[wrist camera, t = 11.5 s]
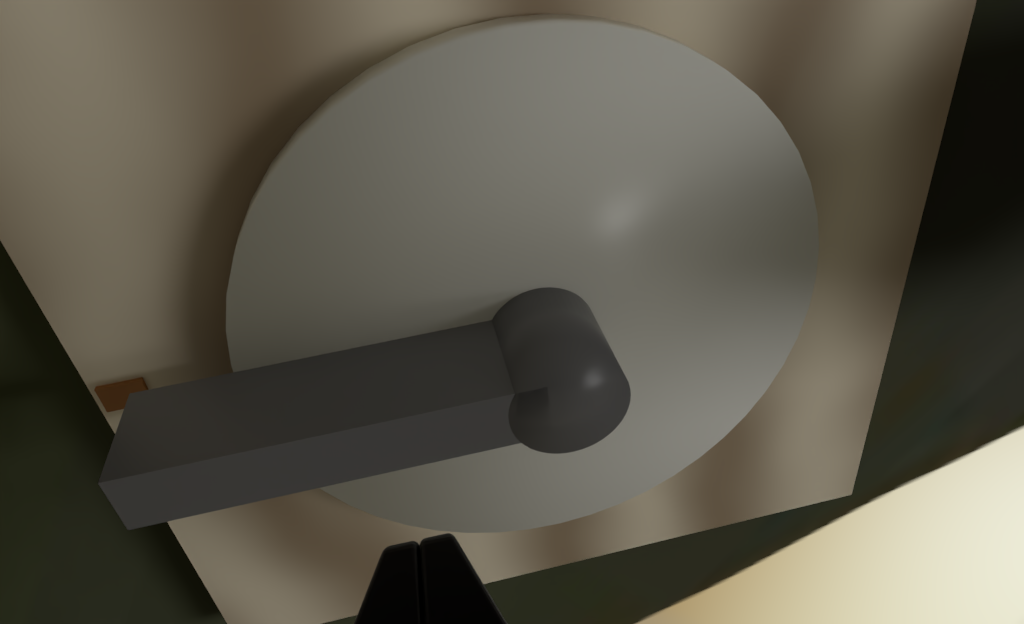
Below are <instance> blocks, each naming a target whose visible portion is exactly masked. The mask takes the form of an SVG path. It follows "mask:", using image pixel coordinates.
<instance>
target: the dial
mask: <svg viewBox="0 0 1024 624" xmlns="http://www.w3.org/2000/svg"><path fill="white" fill-rule="evenodd" d="M818 253H819V234H818V214H817V209H816V205H815V200H814V195H813V190H812V186H811V182H810V179H809V177H808V174H807V171H806V169H805V166H804V164H803V161H802V159H801V156H800V153H799V151H798V149H797V148H796V146H795V144H794V143H793V141H792V140H791V138H790V136H789V135H788V133H787V131H786V130H785V128H784V126H783V125H782V123H781V121H780V120H779V119H778V118H777V117H776V116H775V115H774V113H773V112H772V111H771V110H770V109H769V108H768V107H767V105H766V104H765V103H764V102H763V101H762V100H761V99H760V97H759V96H758V95H757V94H756V93H755V92H753V91H752V90H751V89H750V88H748V87H747V86H746V85H745V84H743V83H742V82H741V81H740V80H739V79H737V78H736V77H735V76H734V75H732V74H731V73H730V72H729V71H727V70H726V69H724V68H723V67H721V66H720V65H718V64H717V63H715V62H714V61H712V60H711V59H709V58H707V57H705V56H704V55H702V54H700V53H698V52H697V51H695V50H693V49H691V48H690V47H688V46H686V45H684V44H683V43H681V42H679V41H677V40H675V39H673V38H670V37H668V36H665V35H662V34H660V33H657V32H654V31H652V30H649V29H646V28H644V27H641V26H638V25H635V24H630V23H625V22H620V21H615V20H611V19H606V18H601V17H596V16H584V15H566V14H537V15H526V16H514V17H503V18H498V19H494V20H489V21H485V22H481V23H476V24H472V25H467V26H463V27H459V28H455V29H452V30H449V31H447V32H444V33H442V34H439V35H436V36H434V37H431V38H428V39H426V40H423V41H420V42H418V43H415V44H413V45H410V46H408V47H406V48H404V49H403V50H401V51H399V52H397V53H395V54H393V55H392V56H390V57H388V58H386V59H384V60H382V61H381V62H379V63H377V64H375V65H373V66H371V67H370V68H368V69H366V70H365V71H364V72H362V73H361V74H360V75H358V76H357V77H356V78H354V79H353V80H352V81H350V82H349V83H348V84H346V85H345V86H343V87H342V88H341V89H339V90H338V91H337V92H335V93H334V94H333V95H331V96H330V97H329V98H328V99H327V100H326V101H325V102H324V103H323V104H322V105H321V106H320V107H319V108H318V109H317V110H316V111H315V112H314V113H313V114H312V115H311V116H310V117H309V118H308V119H307V120H306V121H305V122H304V123H302V124H301V125H300V126H299V127H298V128H297V130H296V131H295V132H294V134H293V135H292V136H291V138H290V139H289V140H288V142H287V143H286V144H285V146H284V147H283V148H282V150H281V151H280V152H279V153H278V155H277V156H276V157H275V159H274V160H273V161H272V163H271V164H270V166H269V168H268V170H267V172H266V174H265V175H264V177H263V179H262V181H261V183H260V184H259V186H258V188H257V190H256V192H255V194H254V195H253V197H252V199H251V202H250V205H249V207H248V210H247V213H246V216H245V218H244V221H243V224H242V227H241V230H240V232H239V235H238V239H237V243H236V248H235V252H234V257H233V262H232V267H231V272H230V278H229V283H228V289H227V294H226V336H227V342H228V349H229V355H230V362H231V366H232V369H233V373H228V374H223V375H218V376H213V377H208V378H204V379H199V380H194V381H189V382H184V383H179V384H174V385H169V386H164V387H159V388H154V389H149V390H144V391H140V392H135V393H130V394H129V396H128V399H127V402H126V405H125V408H124V411H123V413H122V416H121V419H120V422H119V425H118V428H117V430H116V433H115V436H114V439H113V442H112V445H111V447H110V450H109V453H108V456H107V459H106V462H105V465H104V467H103V470H102V473H101V476H100V479H99V482H98V484H99V486H100V487H101V489H102V490H103V492H104V493H105V495H106V497H107V498H108V500H109V501H110V503H111V504H112V506H113V507H114V509H115V511H116V512H117V514H118V515H119V517H120V518H121V520H122V521H123V523H124V525H125V526H126V528H127V529H128V530H132V529H136V528H141V527H145V526H150V525H154V524H159V523H163V522H168V521H172V520H177V519H181V518H186V517H190V516H195V515H199V514H204V513H208V512H213V511H217V510H222V509H226V508H231V507H235V506H240V505H244V504H249V503H253V502H258V501H262V500H267V499H271V498H276V497H280V496H285V495H289V494H294V493H298V492H303V491H307V490H312V489H316V488H320V489H321V490H323V491H325V492H326V493H328V494H330V495H332V496H334V497H335V498H337V499H339V500H341V501H343V502H344V503H346V504H348V505H350V506H352V507H355V508H357V509H360V510H362V511H365V512H367V513H369V514H372V515H374V516H377V517H380V518H383V519H387V520H390V521H394V522H397V523H401V524H404V525H409V526H414V527H420V528H425V529H431V530H437V531H449V532H462V533H497V532H508V531H518V530H527V529H533V528H539V527H544V526H549V525H554V524H559V523H563V522H567V521H570V520H574V519H577V518H581V517H585V516H588V515H591V514H594V513H597V512H599V511H602V510H605V509H607V508H610V507H613V506H615V505H618V504H620V503H623V502H625V501H627V500H629V499H631V498H633V497H635V496H637V495H640V494H642V493H644V492H646V491H648V490H650V489H651V488H653V487H655V486H657V485H658V484H660V483H662V482H664V481H665V480H667V479H669V478H671V477H672V476H674V475H675V474H677V473H678V472H680V471H681V470H683V469H684V468H686V467H687V466H688V465H690V464H691V463H693V462H694V461H696V460H697V459H699V458H700V457H701V456H702V455H704V454H705V453H706V452H707V451H708V450H710V449H711V448H712V447H713V446H714V445H716V444H717V443H718V442H719V441H720V440H722V439H723V438H724V437H725V436H726V435H727V434H728V433H729V432H730V431H731V430H732V429H733V428H734V427H735V426H736V425H737V424H738V423H739V422H740V421H741V420H742V419H743V418H744V417H745V416H746V415H747V414H748V412H749V411H750V410H751V409H752V408H753V406H754V405H755V404H756V403H757V402H758V400H759V399H760V398H761V397H762V395H763V394H764V393H765V392H766V390H767V389H768V387H769V386H770V384H771V383H772V381H773V380H774V378H775V377H776V375H777V374H778V372H779V371H780V369H781V368H782V366H783V365H784V363H785V361H786V359H787V357H788V355H789V353H790V351H791V349H792V347H793V346H794V344H795V342H796V340H797V338H798V335H799V333H800V330H801V327H802V325H803V322H804V319H805V317H806V314H807V311H808V309H809V305H810V301H811V297H812V292H813V288H814V284H815V280H816V273H817V263H818Z"/></svg>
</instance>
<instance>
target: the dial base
mask: <svg viewBox="0 0 1024 624" xmlns="http://www.w3.org/2000/svg"><path fill="white" fill-rule="evenodd" d="M976 1H977V0H0V241H1V242H2V244H3V246H4V247H5V249H6V251H7V253H8V254H9V256H10V258H11V259H12V261H13V263H14V264H15V266H16V268H17V269H18V271H19V273H20V275H21V276H22V278H23V280H24V281H25V283H26V285H27V286H28V288H29V290H30V291H31V293H32V295H33V296H34V298H35V300H36V302H37V303H38V305H39V307H40V308H41V310H42V312H43V313H44V315H45V317H46V318H47V320H48V322H49V323H50V325H51V327H52V329H53V330H54V332H55V334H56V335H57V337H58V339H59V340H60V342H61V344H62V345H63V347H64V349H65V350H66V352H67V354H68V356H69V357H70V359H71V361H72V362H73V364H74V366H75V367H76V369H77V371H78V372H79V374H80V376H81V377H82V379H83V381H84V383H85V384H86V386H87V388H88V389H89V391H90V393H91V394H92V396H93V398H94V399H95V401H96V403H97V404H98V406H99V408H100V410H101V411H102V413H103V415H104V416H105V418H106V420H107V421H108V423H109V425H110V426H111V428H112V430H113V431H114V433H116V430H117V428H118V425H119V422H120V419H121V416H122V413H123V411H124V408H125V405H126V402H127V399H128V396H129V394H130V393H135V392H140V391H144V390H149V389H154V388H159V387H164V386H169V385H174V384H179V383H184V382H189V381H194V380H199V379H204V378H208V377H213V376H218V375H223V374H228V373H233V369H232V366H231V362H230V355H229V349H228V342H227V336H226V294H227V289H228V283H229V278H230V272H231V267H232V262H233V257H234V252H235V248H236V243H237V239H238V235H239V232H240V230H241V227H242V224H243V221H244V218H245V216H246V213H247V210H248V207H249V205H250V202H251V199H252V197H253V195H254V194H255V192H256V190H257V188H258V186H259V184H260V183H261V181H262V179H263V177H264V175H265V174H266V172H267V170H268V168H269V166H270V164H271V163H272V161H273V160H274V159H275V157H276V156H277V155H278V153H279V152H280V151H281V150H282V148H283V147H284V146H285V144H286V143H287V142H288V140H289V139H290V138H291V136H292V135H293V134H294V132H295V131H296V130H297V128H298V127H299V126H300V125H301V124H302V123H304V122H305V121H306V120H307V119H308V118H309V117H310V116H311V115H312V114H313V113H314V112H315V111H316V110H317V109H318V108H319V107H320V106H321V105H322V104H323V103H324V102H325V101H326V100H327V99H328V98H329V97H330V96H331V95H333V94H334V93H335V92H337V91H338V90H339V89H341V88H342V87H343V86H345V85H346V84H348V83H349V82H350V81H352V80H353V79H354V78H356V77H357V76H358V75H360V74H361V73H362V72H364V71H365V70H366V69H368V68H370V67H371V66H373V65H375V64H377V63H379V62H381V61H382V60H384V59H386V58H388V57H390V56H392V55H393V54H395V53H397V52H399V51H401V50H403V49H404V48H406V47H408V46H410V45H413V44H415V43H418V42H420V41H423V40H426V39H428V38H431V37H434V36H436V35H439V34H442V33H444V32H447V31H449V30H452V29H455V28H459V27H463V26H467V25H472V24H476V23H481V22H485V21H489V20H494V19H498V18H503V17H514V16H526V15H537V14H566V15H584V16H596V17H601V18H606V19H611V20H615V21H620V22H625V23H630V24H635V25H638V26H641V27H644V28H646V29H649V30H652V31H654V32H657V33H660V34H662V35H665V36H668V37H670V38H673V39H675V40H677V41H679V42H681V43H683V44H684V45H686V46H688V47H690V48H691V49H693V50H695V51H697V52H698V53H700V54H702V55H704V56H705V57H707V58H709V59H711V60H712V61H714V62H715V63H717V64H718V65H720V66H721V67H723V68H724V69H726V70H727V71H729V72H730V73H731V74H732V75H734V76H735V77H736V78H737V79H739V80H740V81H741V82H742V83H743V84H745V85H746V86H747V87H748V88H750V89H751V90H752V91H753V92H755V93H756V94H757V95H758V96H759V97H760V99H761V100H762V101H763V102H764V103H765V104H766V105H767V107H768V108H769V109H770V110H771V111H772V112H773V113H774V115H775V116H776V117H777V118H778V119H779V120H780V121H781V123H782V125H783V126H784V128H785V130H786V131H787V133H788V135H789V136H790V138H791V140H792V141H793V143H794V144H795V146H796V148H797V149H798V151H799V153H800V156H801V159H802V161H803V164H804V166H805V169H806V171H807V174H808V177H809V179H810V182H811V186H812V190H813V195H814V200H815V205H816V209H817V214H818V234H819V253H818V263H817V273H816V280H815V284H814V288H813V292H812V297H811V301H810V305H809V309H808V311H807V314H806V317H805V319H804V322H803V325H802V327H801V330H800V333H799V335H798V338H797V340H796V342H795V344H794V346H793V347H792V349H791V351H790V353H789V355H788V357H787V359H786V361H785V363H784V365H783V366H782V368H781V369H780V371H779V372H778V374H777V375H776V377H775V378H774V380H773V381H772V383H771V384H770V386H769V387H768V389H767V390H766V392H765V393H764V394H763V395H762V397H761V398H760V399H759V400H758V402H757V403H756V404H755V405H754V406H753V408H752V409H751V410H750V411H749V412H748V414H747V415H746V416H745V417H744V418H743V419H742V420H741V421H740V422H739V423H738V424H737V425H736V426H735V427H734V428H733V429H732V430H731V431H730V432H729V433H728V434H727V435H726V436H725V437H724V438H723V439H722V440H720V441H719V442H718V443H717V444H716V445H714V446H713V447H712V448H711V449H710V450H708V451H707V452H706V453H705V454H704V455H702V456H701V457H700V458H699V459H697V460H696V461H694V462H693V463H691V464H690V465H688V466H687V467H686V468H684V469H683V470H681V471H680V472H678V473H677V474H675V475H674V476H672V477H671V478H669V479H667V480H665V481H664V482H662V483H660V484H658V485H657V486H655V487H653V488H651V489H650V490H648V491H646V492H644V493H642V494H640V495H637V496H635V497H633V498H631V499H629V500H627V501H625V502H623V503H620V504H618V505H615V506H613V507H610V508H607V509H605V510H602V511H599V512H597V513H594V514H591V515H588V516H585V517H581V518H577V519H574V520H570V521H567V522H563V523H559V524H554V525H549V526H544V527H539V528H533V529H527V530H518V531H508V532H497V533H462V532H449V531H437V530H431V529H425V528H420V527H414V526H409V525H404V524H401V523H397V522H394V521H390V520H387V519H383V518H380V517H377V516H374V515H372V514H369V513H367V512H365V511H362V510H360V509H357V508H355V507H352V506H350V505H348V504H346V503H344V502H343V501H341V500H339V499H337V498H335V497H334V496H332V495H330V494H328V493H326V492H325V491H323V490H321V489H320V488H316V489H312V490H307V491H303V492H298V493H294V494H289V495H285V496H280V497H276V498H271V499H267V500H262V501H258V502H253V503H249V504H244V505H240V506H235V507H231V508H226V509H222V510H217V511H213V512H208V513H204V514H199V515H195V516H190V517H186V518H181V519H177V520H172V521H168V522H167V523H168V524H169V526H170V528H171V529H172V531H173V533H174V534H175V536H176V538H177V540H178V541H179V543H180V545H181V546H182V548H183V550H184V551H185V553H186V555H187V556H188V558H189V560H190V561H191V563H192V565H193V567H194V568H195V570H196V572H197V573H198V575H199V577H200V578H201V580H202V582H203V583H204V585H205V587H206V588H207V590H208V592H209V594H210V595H211V597H212V599H213V600H214V602H215V604H216V605H217V607H218V609H219V610H220V612H221V614H222V615H223V617H224V619H225V621H226V622H227V624H321V623H325V622H330V621H334V620H338V619H342V618H346V617H350V616H354V615H358V612H359V610H360V607H361V604H362V602H363V599H364V597H365V594H366V592H367V589H368V587H369V584H370V581H371V579H372V576H373V574H374V571H375V569H376V566H377V563H378V561H379V558H380V556H381V554H382V552H383V550H384V549H385V548H386V547H388V546H391V545H395V544H400V543H405V542H409V541H416V542H418V544H419V545H420V542H421V541H422V540H423V539H424V538H428V537H432V536H437V535H441V534H446V533H450V534H452V535H454V536H455V538H456V539H457V541H458V542H459V544H460V546H461V548H462V549H463V551H464V553H465V554H466V556H467V558H468V559H469V561H470V563H471V564H472V566H473V568H474V569H475V571H476V573H477V574H478V576H479V578H480V579H481V581H482V583H483V584H486V583H490V582H494V581H498V580H502V579H506V578H510V577H515V576H519V575H523V574H527V573H531V572H535V571H539V570H543V569H547V568H552V567H556V566H560V565H564V564H568V563H572V562H576V561H580V560H584V559H589V558H593V557H597V556H601V555H605V554H609V553H613V552H617V551H621V550H626V549H630V548H634V547H638V546H642V545H646V544H650V543H654V542H658V541H663V540H667V539H671V538H675V537H679V536H683V535H687V534H691V533H695V532H700V531H704V530H708V529H712V528H716V527H720V526H724V525H728V524H732V523H737V522H741V521H745V520H749V519H753V518H757V517H761V516H765V515H769V514H774V513H778V512H782V511H786V510H790V509H794V508H798V507H802V506H806V505H811V504H815V503H819V502H823V501H827V500H831V499H835V498H839V497H843V496H848V495H852V491H853V487H854V483H855V479H856V475H857V471H858V467H859V463H860V459H861V455H862V451H863V447H864V443H865V439H866V435H867V431H868V427H869V423H870V420H871V416H872V412H873V408H874V404H875V400H876V396H877V392H878V388H879V384H880V380H881V376H882V372H883V368H884V364H885V360H886V356H887V352H888V348H889V345H890V341H891V337H892V333H893V329H894V325H895V321H896V317H897V313H898V309H899V305H900V301H901V297H902V293H903V289H904V285H905V281H906V277H907V273H908V270H909V266H910V262H911V258H912V254H913V250H914V246H915V242H916V238H917V234H918V230H919V226H920V222H921V218H922V214H923V210H924V206H925V202H926V198H927V195H928V191H929V187H930V183H931V179H932V175H933V171H934V167H935V163H936V159H937V155H938V151H939V147H940V143H941V139H942V135H943V131H944V127H945V123H946V120H947V116H948V112H949V108H950V104H951V100H952V96H953V92H954V88H955V84H956V80H957V76H958V72H959V68H960V64H961V60H962V56H963V52H964V48H965V45H966V41H967V37H968V33H969V29H970V25H971V21H972V17H973V13H974V9H975V5H976Z"/></svg>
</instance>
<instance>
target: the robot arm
mask: <svg viewBox="0 0 1024 624" xmlns="http://www.w3.org/2000/svg"><path fill="white" fill-rule="evenodd" d="M354 624H507V623H506V621H505V619H504V618H503V616H502V614H501V613H500V611H499V609H498V608H497V606H496V604H495V603H494V601H493V599H492V598H491V596H490V594H489V593H488V591H487V589H486V588H485V586H484V584H483V583H482V581H481V579H480V578H479V576H478V574H477V573H476V571H475V569H474V568H473V566H472V564H471V563H470V561H469V559H468V558H467V556H466V554H465V553H464V551H463V549H462V548H461V546H460V544H459V542H458V541H457V539H456V538H455V536H454V535H452V534H450V533H446V534H441V535H437V536H432V537H428V538H424V539H423V540H422V541H421V542H420V545H419V544H418V542H416V541H409V542H405V543H400V544H395V545H391V546H388V547H386V548H385V549H384V550H383V552H382V554H381V556H380V558H379V561H378V563H377V566H376V569H375V571H374V574H373V576H372V579H371V581H370V584H369V587H368V589H367V592H366V594H365V597H364V599H363V602H362V604H361V607H360V610H359V612H358V615H357V617H356V620H355V622H354Z"/></svg>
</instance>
